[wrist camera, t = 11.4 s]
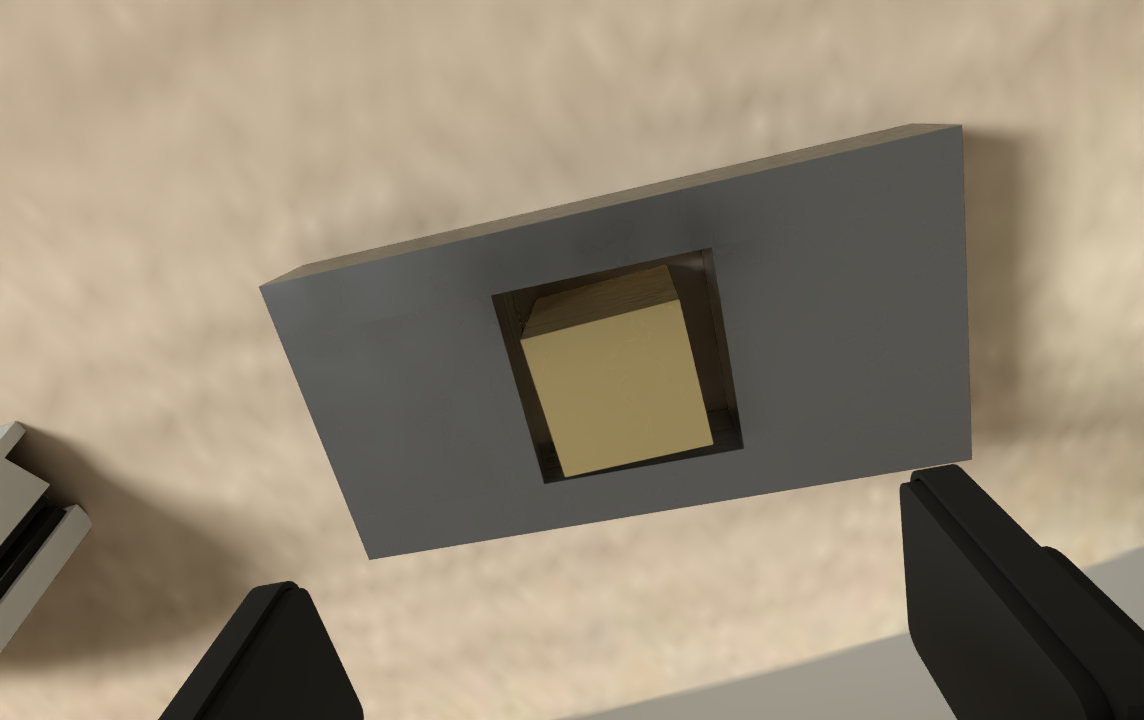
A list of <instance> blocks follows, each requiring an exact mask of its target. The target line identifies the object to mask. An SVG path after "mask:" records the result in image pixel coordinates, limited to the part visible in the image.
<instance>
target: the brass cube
mask: <svg viewBox="0 0 1144 720" xmlns="http://www.w3.org/2000/svg"><path fill="white" fill-rule="evenodd" d="M520 341H521V344H522V347H523V350H524V353H525V356H526V359H527V362H528V365H529V369H530V372H531V375H532V378H533V381H534V384H535V387H536V390H537V393H538V396H539V399H540V402H541V405H542V408H543V411H544V414H545V417H546V420H547V423H548V426H549V430H550V433H551V436H552V439H553V442H554V445H555V448H556V451H557V454H558V457H559V460H560V463H561V466H562V469H563V472H564V475H565V477H569V476H573V475H578V474H582V473H587V472H591V471H596V470H600V469H605V468H609V467H614V466H618V465H623V464H627V463H632V462H636V461H641V460H645V459H650V458H654V457H659V456H663V455H668V454H672V453H677V452H681V451H686V450H690V449H695V448H699V447H704V446H708V445H713V440H712V436H711V431H710V427H709V423H708V419H707V414H706V410H705V406H704V402H703V397H702V393H701V389H700V385H699V381H698V376H697V372H696V368H695V364H694V359H693V355H692V351H691V347H690V342H689V338H688V334H687V330H686V326H685V321H684V317H683V313H682V309H681V304H680V300H679V297H678V295H677V292H676V289H675V287H674V284H673V282H672V279H671V276H670V274H669V271H668V269H667V266H666V264H665V265H662V266H658V267H654V268H650V269H647V270H643V271H639V272H635V273H632V274H628V275H624V276H620V277H616V278H613V279H609V280H605V281H601V282H598V283H594V284H590V285H586V286H583V287H579V288H575V289H571V290H568V291H564V292H560V293H556V294H552V295H549V296H545V297H541V298H537V299H536V302H535V304H534V307H533V309H532V312H531V314H530V317H529V319H528V322H527V325H526V327H525V330H524V332H523V335H522V337H521V340H520Z"/></svg>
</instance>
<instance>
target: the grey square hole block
mask: <svg viewBox="0 0 1144 720" xmlns="http://www.w3.org/2000/svg"><path fill="white" fill-rule="evenodd" d="M697 250H702V255H703V261H704V267H705V273H706V279H707V285H708V291H709V297H710V303H711V309H712V315H713V321H714V327H715V333H716V339H717V345H718V351H719V357H720V363H721V369H722V375H723V381H724V387H725V393H726V399H727V405H728V409H724V410H719V411H713V412H708V413H706V414H707V419H708V423H709V427H710V431H711V436H712V440H713V445H708V446H704V447H699V448H695V449H690V450H686V451H681V452H677V453H672V454H668V455H663V456H659V457H654V458H650V459H645V460H641V461H636V462H632V463H627V464H623V465H618V466H614V467H609V468H605V469H600V470H596V471H591V472H587V473H582V474H578V475H573V476H569V477H565V475H564V472H563V469H562V466H561V463H560V460H559V457H558V454H557V451H556V448H555V445H554V442H553V441H552V440H551V436H550V433H549V429H548V425H547V422H546V418H545V414H544V411H543V408H542V405H541V402H540V399H539V396H538V393H537V390H536V387H535V384H534V381H533V378H532V375H531V372H530V369H529V365H528V362H527V359H526V356H525V353H524V350H523V347H522V344H521V341H520V340H521V337H522V335H523V333H522V330H521V326H520V322H519V319H518V315H517V311H516V308H515V304H514V300H513V297H512V293H511V291H513V290H518V289H522V288H527V287H532V286H536V285H541V284H545V283H550V282H555V281H559V280H564V279H568V278H573V277H578V276H582V275H587V274H591V273H596V272H601V271H605V270H610V269H614V268H619V267H624V266H628V265H633V264H637V263H642V262H647V261H651V260H656V259H660V258H665V257H670V256H674V255H679V254H683V253H688V252H693V251H697ZM259 288H260V291H261V293H262V296H263V298H264V301H265V303H266V306H267V308H268V311H269V313H270V316H271V318H272V321H273V323H274V326H275V328H276V330H277V333H278V335H279V338H280V340H281V343H282V345H283V348H284V350H285V353H286V355H287V358H288V360H289V363H290V365H291V368H292V370H293V372H294V375H295V377H296V380H297V382H298V385H299V387H300V390H301V392H302V395H303V397H304V400H305V402H306V405H307V407H308V409H309V412H310V414H311V417H312V419H313V422H314V424H315V427H316V429H317V432H318V434H319V437H320V439H321V442H322V444H323V447H324V449H325V451H326V454H327V456H328V459H329V461H330V464H331V466H332V469H333V471H334V474H335V476H336V479H337V481H338V484H339V486H340V489H341V491H342V493H343V496H344V498H345V501H346V503H347V506H348V508H349V511H350V513H351V516H352V518H353V521H354V523H355V526H356V528H357V531H358V533H359V535H360V538H361V540H362V543H363V545H364V548H365V550H366V553H367V555H368V558H369V560H372V559H378V558H384V557H390V556H396V555H402V554H408V553H414V552H420V551H426V550H432V549H438V548H444V547H450V546H456V545H462V544H468V543H474V542H480V541H486V540H492V539H498V538H504V537H510V536H516V535H522V534H528V533H534V532H540V531H546V530H552V529H558V528H564V527H570V526H576V525H582V524H588V523H594V522H600V521H606V520H612V519H618V518H624V517H630V516H636V515H642V514H648V513H654V512H660V511H666V510H672V509H678V508H684V507H690V506H696V505H702V504H708V503H714V502H720V501H726V500H732V499H738V498H744V497H750V496H756V495H762V494H768V493H774V492H780V491H786V490H792V489H798V488H804V487H810V486H816V485H822V484H828V483H834V482H840V481H846V480H852V479H858V478H864V477H870V476H876V475H882V474H888V473H894V472H900V471H906V470H912V469H918V468H924V467H930V466H936V465H942V464H948V463H954V462H960V461H966V460H972V444H971V410H970V376H969V342H968V308H967V274H966V241H965V207H964V173H963V139H962V125H951V124H908V125H904V126H899V127H895V128H891V129H887V130H882V131H878V132H874V133H869V134H865V135H861V136H856V137H852V138H848V139H844V140H839V141H835V142H831V143H826V144H822V145H818V146H814V147H809V148H805V149H801V150H796V151H792V152H788V153H783V154H779V155H775V156H771V157H766V158H762V159H758V160H753V161H749V162H745V163H740V164H736V165H732V166H728V167H723V168H719V169H715V170H710V171H706V172H702V173H698V174H693V175H689V176H685V177H680V178H676V179H672V180H667V181H663V182H659V183H655V184H650V185H646V186H642V187H637V188H633V189H629V190H625V191H620V192H616V193H612V194H607V195H603V196H599V197H594V198H590V199H586V200H582V201H577V202H573V203H569V204H564V205H560V206H556V207H551V208H547V209H543V210H539V211H534V212H530V213H526V214H521V215H517V216H513V217H509V218H504V219H500V220H496V221H491V222H487V223H483V224H478V225H474V226H470V227H466V228H461V229H457V230H453V231H448V232H444V233H440V234H436V235H431V236H427V237H423V238H418V239H414V240H410V241H405V242H401V243H397V244H393V245H388V246H384V247H380V248H375V249H371V250H367V251H362V252H358V253H354V254H350V255H345V256H341V257H337V258H332V259H328V260H324V261H320V262H315V263H311V264H307V265H303V266H301V267H299V268H297V269H294V270H292V271H290V272H288V273H286V274H284V275H282V276H280V277H278V278H276V279H274V280H272V281H270V282H268V283H266V284H264V285H261V286H259Z"/></svg>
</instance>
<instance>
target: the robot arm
mask: <svg viewBox="0 0 1144 720" xmlns="http://www.w3.org/2000/svg"><path fill="white" fill-rule="evenodd" d="M900 506H901V521H902V537H903V552H904V567H905V582H906V597H907V613H908V625H909V631H910V635H911V638H912V641H913V643H914V646H915V648H916V650H917V652H918V654H919V656H920V657H921V659H922V661H923V662H924V664H925V666H926V667H927V669H928V670H929V672H930V674H931V676H932V677H933V679H934V681H935V682H936V684H937V686H938V688H939V689H940V691H941V693H942V694H943V696H944V698H945V700H946V701H947V703H948V705H949V706H950V708H951V710H952V711H953V713H954V715H955V716H956V718H957V720H1144V631H1143V630H1142V629H1141V628H1140V627H1139V626H1138V625H1137V624H1136V623H1135V622H1134V621H1133V620H1132V619H1131V618H1130V617H1129V616H1128V615H1127V614H1126V613H1125V612H1124V611H1123V610H1121V609H1120V608H1119V607H1118V606H1117V605H1116V604H1115V603H1114V602H1113V601H1112V600H1111V599H1110V598H1109V597H1108V596H1107V595H1106V594H1104V592H1103V591H1102V590H1100V589H1099V588H1098V587H1097V586H1096V585H1095V584H1094V583H1093V582H1092V581H1091V580H1090V579H1089V578H1088V577H1087V576H1086V575H1085V574H1084V573H1083V572H1082V571H1081V570H1080V569H1079V568H1077V567H1076V566H1075V565H1074V564H1073V563H1072V562H1071V561H1070V560H1069V559H1068V558H1067V557H1066V556H1065V555H1063V554H1062V553H1061V552H1059V551H1058V550H1057V549H1054V548H1051V547H1048V546H1045V547H1041V546H1040V545H1039V544H1038V543H1037V542H1036V541H1035V540H1034V539H1033V538H1032V537H1030V536H1029V535H1028V534H1027V533H1026V532H1025V531H1024V530H1023V529H1022V528H1021V527H1020V526H1019V525H1018V524H1017V523H1016V522H1015V521H1014V520H1013V519H1012V518H1011V517H1010V516H1009V515H1008V514H1007V513H1006V512H1005V511H1004V510H1003V509H1002V508H1001V507H1000V506H999V505H998V504H997V503H996V502H995V501H994V500H993V499H992V498H991V497H990V496H989V495H988V494H987V493H986V492H985V491H984V490H983V489H982V488H981V487H980V486H979V485H978V484H977V483H976V482H975V481H974V480H973V479H972V478H971V477H970V476H969V475H968V474H967V473H966V472H965V471H964V470H963V469H962V468H960V467H959V466H958V465H955V464H951V465H945V466H939V467H934V468H928V469H922V470H917V471H914V472H913V473H912V474H911V478H910V482H907V483H902V484H901V486H900ZM158 720H364V715H363V709H362V706H361V704H360V701H359V699H358V697H357V695H356V693H355V691H354V689H353V686H352V684H351V682H350V680H349V678H348V676H347V674H346V671H345V669H344V667H343V665H342V663H341V661H340V659H339V656H338V654H337V652H336V650H335V648H334V646H333V644H332V641H331V639H330V637H329V635H328V633H327V631H326V629H325V626H324V624H323V622H322V620H321V618H320V616H319V614H318V611H317V609H316V607H315V605H314V603H313V601H312V599H311V596H310V595H309V593H308V591H307V590H305V589H303V588H299V587H298V585H297V584H295V583H294V582H292V581H286V582H280V583H274V584H269V585H263V586H258V587H255V588H253V589H252V590H251V591H250V592H249V593H248V595H247V596H246V598H245V599H244V600H243V602H242V603H241V605H240V606H239V607H238V609H237V610H236V612H235V613H234V614H233V616H232V617H231V619H230V620H229V621H228V623H227V624H226V626H225V627H224V628H223V630H222V631H221V632H220V634H219V635H218V637H217V638H216V639H215V641H214V642H213V644H212V645H211V646H210V648H209V649H208V651H207V652H206V653H205V655H204V656H203V658H202V659H201V660H200V662H199V663H198V665H197V666H196V667H195V669H194V670H193V672H192V673H191V674H190V676H189V677H188V679H187V680H186V681H185V683H184V684H183V686H182V687H181V688H180V690H179V691H178V693H177V694H176V695H175V697H174V698H173V700H172V701H171V702H170V704H169V705H168V707H167V708H166V709H165V711H164V712H163V714H162V715H161V716H160V718H159V719H158Z"/></svg>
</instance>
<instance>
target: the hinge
mask: <svg viewBox="0 0 1144 720" xmlns="http://www.w3.org/2000/svg"><path fill="white" fill-rule="evenodd" d="M25 432H26V431H25V430H24V429H23V428H22V427H21V425H20V424H19V423H17V422H16V421H15V422H12V423H9V424H7V425H4V426H1V427H0V653H1V652H2V650H3V649H4V648H5V646H6V645H7V643H8V642H9V641H10V639H11V638H12V636H13V635H14V634H15V632H16V631H17V630H18V628H19V627H20V625H21V624H22V623H23V621H24V620H25V618H26V617H27V616H28V614H29V613H30V612H31V610H32V609H33V607H34V606H35V605H36V603H37V602H38V600H39V599H40V598H41V596H42V595H43V594H44V592H45V591H46V589H47V588H48V587H49V585H50V584H51V582H52V581H53V580H54V578H55V577H56V576H57V574H58V573H59V571H60V570H61V569H62V567H63V566H64V564H65V563H66V562H67V560H68V559H69V558H70V556H71V555H72V553H73V552H74V551H75V549H76V548H77V546H78V545H79V544H80V542H81V541H82V540H83V538H84V537H85V535H86V534H87V533H88V531H89V530H90V528H91V527H92V526H93V525H92V523H91V520H90V518H89V516H88V515H87V514H86V513H85V512H84V511H83V510H82V509H81V508H80V507H79V506H78V504H77V505H73V506H70V507H66V508H62V507H60V506H56V507H53V508H49V509H46V510H43V511H40V512H39V510H40V509H41V508H42V507H43V506H44V504H45V503H46V502H47V501H48V499H49V498H48V497H46V496H45V495H43V493H44V491H45V490H46V489H47V488H48V487H49V485H50V484H49V483H47V482H45V481H43V480H42V479H40V478H38V477H36V476H35V475H33V474H31V473H29V472H28V471H26V470H24V469H22V468H21V467H19V466H17V465H15V464H14V463H12V462H10V461H8V460H7V459H5V457H6V455H7V454H8V453H9V452H10V450H11V449H12V448H13V447H14V445H15V444H16V443H17V442H18V441H19V439H20V438H21V437H22V436H23V434H24V433H25Z"/></svg>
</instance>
